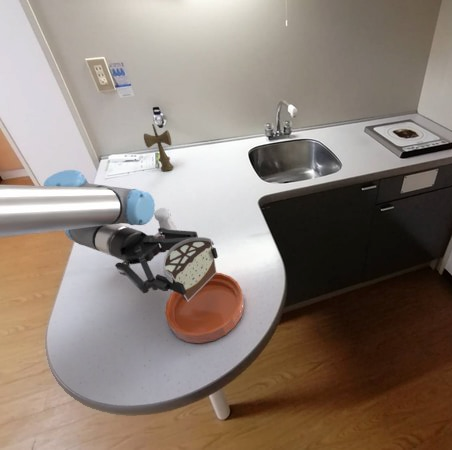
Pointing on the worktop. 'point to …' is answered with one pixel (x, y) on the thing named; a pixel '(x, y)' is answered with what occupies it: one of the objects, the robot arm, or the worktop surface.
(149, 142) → the kendama
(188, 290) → the food container
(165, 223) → the salt shaker
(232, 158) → the worktop surface
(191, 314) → the bowl
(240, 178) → the worktop surface
